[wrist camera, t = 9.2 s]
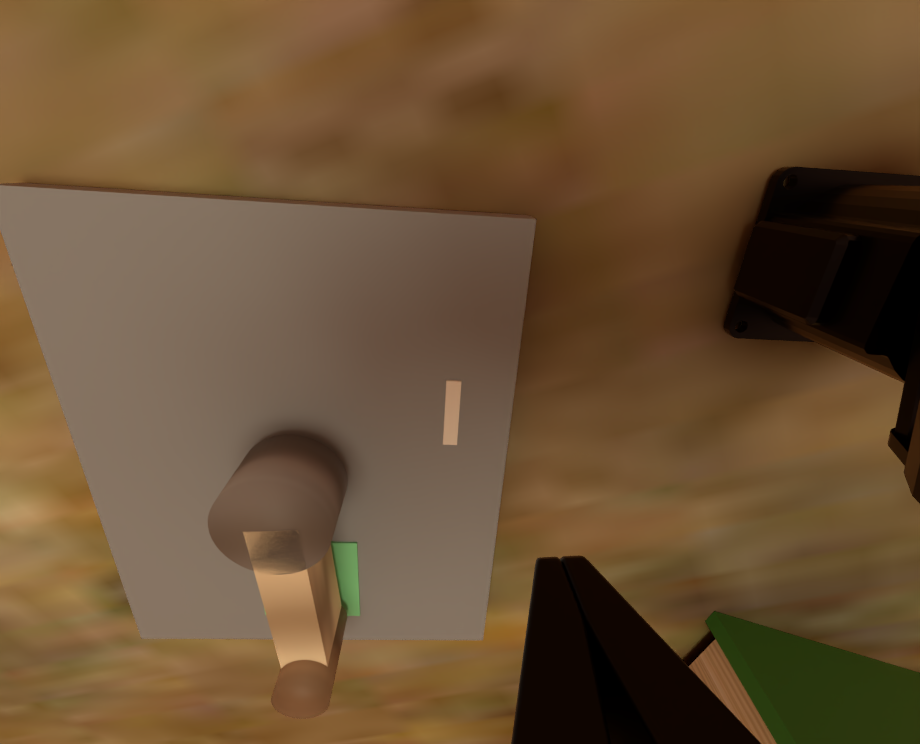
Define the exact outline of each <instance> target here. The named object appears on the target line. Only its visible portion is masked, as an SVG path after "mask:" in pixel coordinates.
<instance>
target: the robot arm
mask: <svg viewBox="0 0 920 744" xmlns="http://www.w3.org/2000/svg"><path fill="white" fill-rule="evenodd" d="M787 176H789V178H790V182H789V184H788V186H787V187H785V188H784V186H783V183H784V180H785V178H786V177H787ZM734 290H735V291H734V294H733V297H732V301H731V304H730V307H729V310H728V313H727V316H726V319H725V322H724V330H725V332H726V333H728V334H729V335H731V336H733V337H735V338H745V339H766V340H786V341H807V342H816V343H819V344H821V345H823V346H825V347H827V348H829V349H832V350H834V351H836V352H838V353H840V354H842V355H845V356H847V357H849V358H851V359H853V360H855V361H858V362H860V363H862V364H864V365H866V366H868V367H871V368H873V369H875V370H877V371H879V372H881V373H884V374H886V375H888V376H890V377H892V378H894V379H897V380H899V381H901V382H903V383H904V388H903V393H902V398H901V403H900V408H899V413H898V418H897V423H896V427H895V428H893V429H891V431H890V435H889V441H888V446H889V447H890V448H891V450H892V451H893V452H894V453H895V454H896V456H897V457H898V458H899V459H900V460H901V462H902V463H903V464H904V465H905V469H904V474H905V477H906V480H907V483H908V485H909V488H910V491H911V493H912V496H913V497H914V498H915V499H916V500H917V501H918V502H919V503H920V176H913V175H900V174H886V173H873V172H859V171H846V170H832V169H818V168H805V167H783V168H781V169H779V170H777V171H776V172H775V173H774V174H773V176H772V178H771V180H770V182H769V185H768V188H767V191H766V195H765V198H764V201H763V204H762V207H761V210H760V213H759V216H758V219H757V223H756V226H755V227H754V228H753V231H752V234H751V237H750V240H749V243H748V246H747V249H746V252H745V256H744V259H743V262H742V265H741V268H740V271H739V274H738V277H737V281H736V284H735V287H734ZM740 321H742V324H741V326H740V327H739V328H738V329H735V326H736V325H737V323H739V322H740ZM511 744H761V743H760V742H759V740H758V739H757V738H756V737H755V736H754V735H753V734H752V733H751V732H750V731H749V730H748V729H747V728H746V727H745V726H744V725H743V724H742V723H741V721H740V720H739V719H738V718H737V717H736V716H735V715H734V714H733V713H732V712H731V711H730V710H729V709H728V708H727V707H726V706H725V705H724V704H723V702H722V701H721V700H720V699H719V698H718V697H717V696H716V695H715V694H714V693H713V692H712V691H711V690H710V689H709V688H708V687H707V686H706V684H705V683H704V682H703V681H702V680H701V679H700V678H699V677H698V676H697V675H696V674H695V673H694V672H693V671H692V670H691V669H690V668H689V667H688V665H687V664H686V663H685V662H684V661H683V660H682V659H681V658H680V657H679V656H678V655H677V654H676V653H675V652H674V651H673V650H672V649H671V648H670V646H669V645H668V644H667V643H666V642H665V641H664V640H663V639H662V638H661V637H660V636H659V635H658V634H657V633H656V632H655V631H654V630H653V629H652V627H651V626H650V625H649V624H648V623H647V622H646V621H645V620H644V619H643V618H642V617H641V616H640V615H639V614H638V613H637V612H636V611H635V610H634V608H633V607H632V606H631V605H630V604H629V603H628V602H627V601H626V600H625V599H624V598H623V597H622V596H621V595H620V594H619V593H618V592H617V590H616V589H615V588H614V587H613V586H612V585H611V584H610V583H609V582H608V581H607V580H606V579H605V578H604V577H603V576H602V575H601V574H600V573H599V571H598V570H597V569H596V568H595V567H594V566H593V565H592V564H591V563H590V562H589V561H588V560H587V559H586V558H585V557H583V556H564V557H562V558H560V559H559V558H558V557H542V558H538V559H537V560H536V564H535V572H534V579H533V587H532V594H531V601H530V609H529V616H528V624H527V631H526V638H525V646H524V653H523V661H522V668H521V675H520V683H519V690H518V698H517V705H516V712H515V720H514V727H513V735H512V742H511Z"/></svg>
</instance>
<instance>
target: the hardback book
mask: <svg viewBox="0 0 920 744" xmlns="http://www.w3.org/2000/svg"><path fill="white" fill-rule="evenodd" d="M705 622H706V623H707V625H708V627H709V629H710V630H711V632H712V634H713V635H714V637H715V640H714V641H713V642H712V643H711V644H710V645H709V646H708V647H707V648H706V649H705V650H704V651H703V652H702V653H701V654H700V655H699V656H698V657H697V658H696V659H695V660H694V661H693V662H692V664H691V665H690V666H689V668H690V669H691V670H692V671H693V672H694V673H695V674H696V675H697V676H698V677H699V678H700V679H701V680H702V681H703V682H704V683H705V684H706V686H707V687H708V688H709V689H710V690H711V691H712V692H713V693H714V694H715V695H716V696H717V697H718V698H719V699H720V700H721V701H722V702H723V704H724V705H725V706H726V707H727V708H728V709H729V710H730V711H731V712H732V713H733V714H734V715H735V716H736V717H737V718H738V719H739V720H740V721H741V723H742V724H743V725H744V726H745V727H746V728H747V729H748V730H749V731H750V732H751V733H752V734H753V735H754V736H755V737H756V738H757V739H758V740H759V742H760V743H761V744H920V673H918V672H915V671H912V670H908V669H905V668H902V667H898V666H895V665H892V664H888V663H885V662H882V661H878V660H875V659H872V658H868V657H865V656H862V655H859V654H855V653H852V652H849V651H845V650H842V649H839V648H835V647H832V646H829V645H825V644H822V643H819V642H815V641H812V640H809V639H805V638H802V637H799V636H795V635H792V634H789V633H785V632H782V631H779V630H775V629H772V628H769V627H765V626H762V625H759V624H755V623H752V622H749V621H745V620H742V619H739V618H736V617H732V616H729V615H726V614H722V613H719V612H716V611H714V612H713V613H712V614H711V615H710V616H709V617H708V619H707V620H706V621H705Z"/></svg>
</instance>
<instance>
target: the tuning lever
mask: <svg viewBox="0 0 920 744" xmlns="http://www.w3.org/2000/svg"><path fill="white" fill-rule="evenodd" d="M347 485H348V479H347V473H346V470H345V468H344V465H343V464H342V462H341V460H340V459H339V458H338V456H337V455H336V454H335V453H334V452H333V451H332V450H330V449H329V448H328V447H326V446H325V445H323V444H322V443H320V442H318V441H316V440H313V439H310V438H307V437H303V436H297V435H279V436H274V437H270V438H268V439H265V440H263V441H261V442H259V443H258V444H256V445H255V446H254V447H253V448H252V449H251V450H250V451H249V452H248V453H247V455H246V456H245V458H244V459H243V461H242V462H241V464H240V465H239V467H238V468H237V469H236V471H235V472H234V474H233V475H232V477H231V478H230V480H229V481H228V483H227V484H226V486H225V487H224V489H223V490H222V491H221V493H220V494H219V496H218V497H217V499H216V500H215V502H214V503H213V505H212V507H211V509H210V511H209V515H208V529H209V534H210V536H211V538H212V540H213V542H214V544H215V545H216V547H217V548H218V549H219V550H220V551H221V552H222V553H223V554H224V555H225V556H226V557H227V558H229V559H230V560H231V561H233V562H235V563H236V564H238V565H240V566H242V567H244V568H247V569H249V570H252V571H254V573H255V577H256V580H257V584H258V587H259V591H260V595H261V598H262V602H263V605H264V609H265V612H266V616H267V620H268V623H269V627H270V630H271V634H272V637H273V641H274V644H275V648H276V652H277V655H278V659H279V662H280V666H281V669H280V673H279V676H278V679H277V682H276V685H275V688H274V691H273V694H272V698H271V703H272V705H273V707H274V708H275V709H276V710H277V711H278V712H280V713H281V714H283V715H285V716H288V717H292V718H299V719H306V718H313V717H316V716H319V715H321V714H322V713H324V712H325V711H326V710H327V708H328V706H329V703H330V698H331V693H332V688H333V684H334V679H335V674H336V669H337V664H338V660H339V655H340V650H341V645H342V640H343V636H344V631H345V626H346V621H347V612H346V610H345V609H344V608H343V607H342V606H341V600H340V594H339V589H338V583H337V577H336V572H335V566H334V560H333V555H332V549H331V541H332V538H333V535H334V531H335V528H336V524H337V521H338V518H339V514H340V511H341V507H342V504H343V501H344V497H345V494H346V490H347Z"/></svg>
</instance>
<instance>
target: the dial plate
mask: <svg viewBox="0 0 920 744" xmlns="http://www.w3.org/2000/svg"><path fill="white" fill-rule="evenodd" d="M535 227H536V219H535V218H533V217H531V216H529V215H517V214H501V213H486V212H470V211H454V210H439V209H423V208H408V207H392V206H376V205H361V204H345V203H330V202H314V201H298V200H283V199H267V198H252V197H236V196H220V195H205V194H189V193H174V192H158V191H142V190H127V189H111V188H96V187H80V186H64V185H49V184H33V183H6V184H0V230H1V233H2V236H3V239H4V242H5V245H6V248H7V251H8V254H9V256H10V259H11V262H12V265H13V268H14V271H15V274H16V277H17V280H18V283H19V285H20V288H21V291H22V294H23V297H24V300H25V303H26V306H27V309H28V311H29V314H30V317H31V320H32V323H33V326H34V329H35V332H36V335H37V338H38V340H39V343H40V346H41V349H42V352H43V355H44V358H45V361H46V364H47V367H48V369H49V372H50V375H51V378H52V381H53V384H54V387H55V390H56V393H57V395H58V398H59V401H60V404H61V407H62V410H63V413H64V416H65V419H66V422H67V424H68V427H69V430H70V433H71V436H72V439H73V442H74V445H75V448H76V450H77V453H78V456H79V459H80V462H81V465H82V468H83V471H84V474H85V477H86V479H87V482H88V485H89V488H90V491H91V494H92V497H93V500H94V503H95V505H96V508H97V511H98V514H99V517H100V520H101V523H102V526H103V529H104V532H105V534H106V537H107V540H108V543H109V546H110V549H111V552H112V555H113V558H114V561H115V563H116V566H117V569H118V572H119V575H120V578H121V581H122V584H123V587H124V589H125V592H126V595H127V598H128V601H129V604H130V607H131V610H132V613H133V616H134V618H135V621H136V624H137V627H138V630H139V633H140V636H141V639H273V637H272V634H271V630H270V627H269V623H268V620H267V616H266V612H265V609H264V605H263V602H262V598H261V595H260V591H259V587H258V584H257V580H256V577H255V573H254V571H252V570H249V569H247V568H244V567H242V566H240V565H238V564H236V563H235V562H233V561H231V560H230V559H229V558H227V557H226V556H225V555H224V554H223V553H222V552H221V551H220V550H219V549H218V548H217V547H216V545H215V544H214V542H213V540H212V538H211V536H210V534H209V529H208V515H209V511H210V509H211V507H212V505H213V503H214V502H215V500H216V499H217V497H218V496H219V494H220V493H221V491H222V490H223V489H224V487H225V486H226V484H227V483H228V481H229V480H230V478H231V477H232V475H233V474H234V472H235V471H236V469H237V468H238V467H239V465H240V464H241V462H242V461H243V459H244V458H245V456H246V455H247V453H248V452H249V451H250V450H251V449H252V448H253V447H254V446H255V445H256V444H258V443H259V442H261V441H263V440H265V439H268V438H270V437H274V436H279V435H297V436H303V437H307V438H310V439H313V440H316V441H318V442H320V443H322V444H323V445H325V446H326V447H328V448H329V449H330V450H332V451H333V452H334V453H335V454H336V455H337V456H338V458H339V459H340V460H341V462H342V464H343V465H344V468H345V470H346V473H347V479H348V485H347V490H346V494H345V497H344V501H343V504H342V507H341V511H340V514H339V518H338V521H337V524H336V528H335V531H334V535H333V538H332V541H331V549H332V555H333V560H334V566H335V572H336V577H337V583H338V589H339V594H340V600H341V606H342V607H343V608H344V609H345V610H346V612H347V621H346V626H345V631H344V636H343V640H483V635H484V627H485V619H486V612H487V604H488V596H489V588H490V580H491V572H492V565H493V557H494V549H495V541H496V533H497V525H498V517H499V510H500V502H501V494H502V486H503V478H504V470H505V462H506V455H507V447H508V439H509V431H510V423H511V415H512V407H513V400H514V392H515V384H516V376H517V368H518V360H519V352H520V345H521V337H522V329H523V321H524V313H525V305H526V297H527V290H528V282H529V274H530V266H531V258H532V250H533V242H534V235H535Z"/></svg>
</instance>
